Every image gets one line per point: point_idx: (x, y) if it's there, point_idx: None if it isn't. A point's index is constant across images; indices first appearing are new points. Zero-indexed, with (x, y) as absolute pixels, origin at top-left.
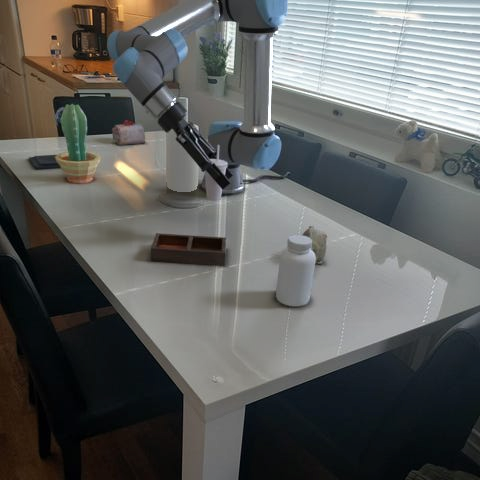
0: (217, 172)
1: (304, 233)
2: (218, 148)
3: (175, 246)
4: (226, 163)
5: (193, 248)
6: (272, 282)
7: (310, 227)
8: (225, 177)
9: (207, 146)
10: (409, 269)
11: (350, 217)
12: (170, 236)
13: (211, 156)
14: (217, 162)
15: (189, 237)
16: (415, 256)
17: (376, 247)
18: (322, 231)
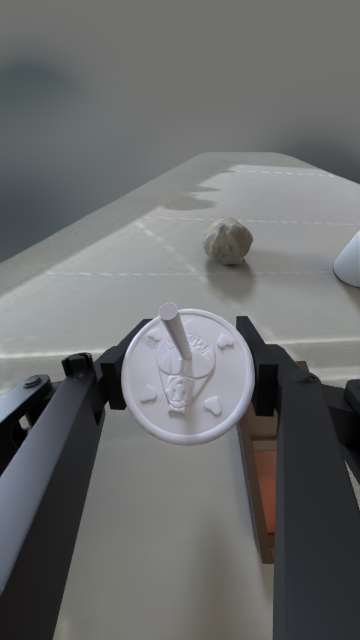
0: (272, 351)
1: (237, 236)
2: (179, 320)
3: (261, 482)
4: (193, 311)
5: (253, 435)
6: (319, 295)
7: (224, 226)
8: (252, 325)
9: (65, 431)
10: (219, 184)
11: (85, 227)
12: (262, 506)
13: (96, 398)
14: (200, 352)
15: (257, 449)
16: (186, 181)
17: (170, 206)
18: (223, 217)
